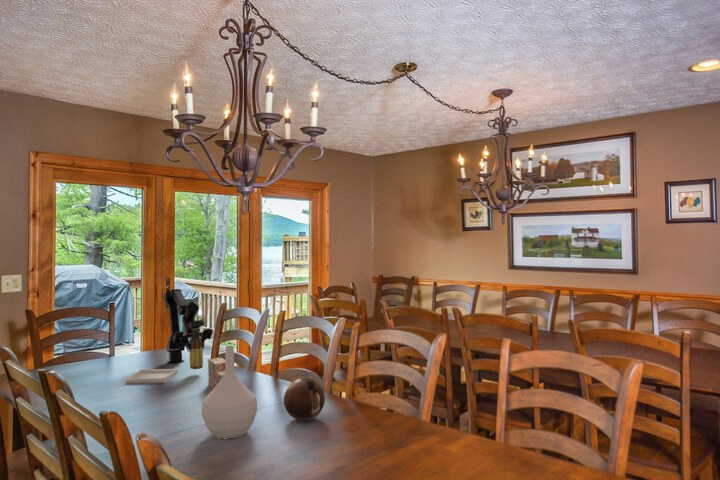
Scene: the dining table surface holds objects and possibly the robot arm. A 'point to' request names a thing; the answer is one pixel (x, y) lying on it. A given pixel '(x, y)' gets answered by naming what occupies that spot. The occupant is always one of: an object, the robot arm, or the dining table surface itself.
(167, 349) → the robot arm
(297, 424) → the dining table surface
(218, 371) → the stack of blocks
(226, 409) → the vase
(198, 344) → the sauce bottle
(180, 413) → the dining table surface
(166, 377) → the tray
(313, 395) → the wooden sphere
